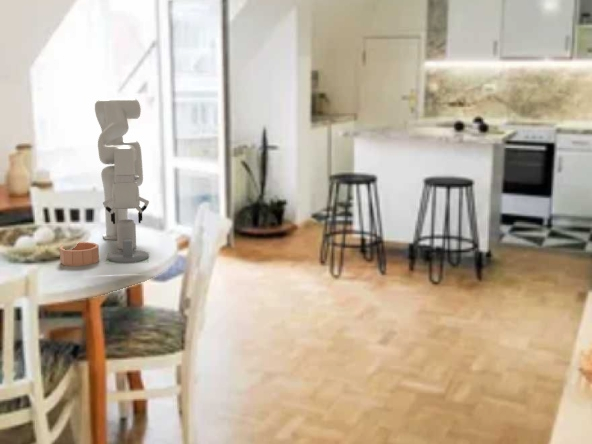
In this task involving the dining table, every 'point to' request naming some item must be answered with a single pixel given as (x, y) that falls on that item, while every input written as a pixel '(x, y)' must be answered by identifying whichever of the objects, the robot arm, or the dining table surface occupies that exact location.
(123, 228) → the can
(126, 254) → the lid
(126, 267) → the dining table surface
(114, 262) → the mat
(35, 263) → the dining table surface
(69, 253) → the bowl
